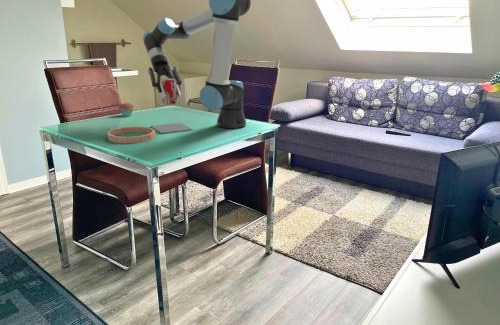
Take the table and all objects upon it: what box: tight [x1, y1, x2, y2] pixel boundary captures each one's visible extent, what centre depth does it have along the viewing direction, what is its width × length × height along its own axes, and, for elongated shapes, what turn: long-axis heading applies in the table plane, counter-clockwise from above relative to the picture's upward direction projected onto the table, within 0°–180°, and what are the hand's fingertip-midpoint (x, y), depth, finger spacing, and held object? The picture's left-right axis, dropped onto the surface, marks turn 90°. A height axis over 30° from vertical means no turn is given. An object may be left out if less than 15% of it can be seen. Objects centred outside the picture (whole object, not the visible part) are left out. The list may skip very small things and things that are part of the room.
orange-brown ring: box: [107, 125, 156, 144], centre depth 170 cm, size 20×20×2 cm
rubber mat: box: [149, 122, 193, 135], centre depth 187 cm, size 16×16×1 cm
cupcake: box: [118, 94, 135, 118], centre depth 213 cm, size 9×8×12 cm
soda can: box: [161, 77, 178, 106], centre depth 182 cm, size 7×7×12 cm
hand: (172, 96), depth 180 cm, fingers closed on soda can, 7 cm apart
